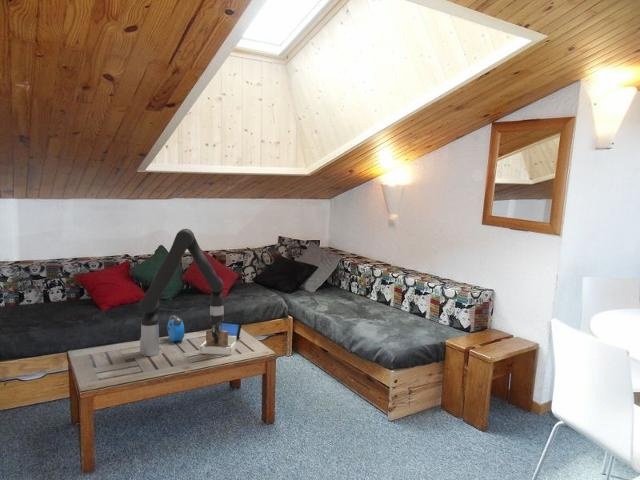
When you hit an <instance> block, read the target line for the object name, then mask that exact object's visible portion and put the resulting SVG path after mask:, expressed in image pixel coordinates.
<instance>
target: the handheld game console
mask: <svg viewBox="0 0 640 480" xmlns="http://www.w3.org/2000/svg"><path fill="white" fill-rule="evenodd" d="M221 323H222V329H221V331H228V336H236V342H238V341H239V340H240V336H241V330H242V327H243V326H242V323H240V322H239V323H238V322H228V321H223V322H221ZM219 330H220V329H219Z"/></svg>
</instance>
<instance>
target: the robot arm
mask: <svg viewBox="0 0 640 480" xmlns="http://www.w3.org/2000/svg"><path fill="white" fill-rule="evenodd" d="M186 251H188V252H189V254H190V255H191V258H192V259H193V261H194V263H195V265H196V267H197V269H198V271H199V272H200V274H201V275H202V277H204V279H205V281H206V284H207V285H208V287H209V288H210V293H211V294H210V301H209V302H210V308H209V320H210V323H213V324H212V328H211V330H212V336H213V337H214V344H218V333H219V331H221V329H222V323H221V322H225V321H224V319H225V318H224V317H225V316H224V315H225V314H224V312H225V311H224V296H223V294H224V293H223V292H224V281H223V279H221V277H219V276H218V275H217V273H216V271H215V268H214V267H213V265H212V264H211V262H210V261H209V259H208V258H207V257H206V255H205V254H204V252H203V251H202V249H201V247H200V245H199V244H198V241H197V238H196V237H195V233H194V232H193V231H192V230H191V229H188V228H182V229H181V230H179V231H178V232H177V233H176V234H175V237H174V240H173V242H172V245H171V247H170V249H169V251H168V253H167V254H166V256H165V257H164V258H163V260H162V262H161V263H160V265H159V266H158V268H157V270H156V273H155V275H154V276H153V279H152V281H151V283H150V285H149V287H148V289H147V291H146V292H145V294H144V295H143V296H142V298H141V299H140V301H139V305H138V306H139V311H140V312H141V313H142V315H141V319H140V327H141V337H139V351H140V354H139V355H141V356H144V357H150V356H151V357H153V356H156V355H159V354H160V330H159V329H160V327H159V326H160V325H159V323H160V322H159V320H160V314H161V313H160V311H161V310H160V308H161V305H160V298H161V295H162V294H163V292H164V291H165V290H166V288H167V287H168V285H170V283H171V282H172V280H173V278H174V277H175V275H176V273H177V271H178V268H179V266H180V263H181V260H182V258H183V256H184V254H185V252H186ZM219 329H220V330H219ZM217 331H218V332H217Z"/></svg>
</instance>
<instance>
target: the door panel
mask: <svg viewBox="0 0 640 480" xmlns="http://www.w3.org/2000/svg"><path fill="white" fill-rule="evenodd" d="M217 332H218V331H217ZM205 340H206V344H209V346H215V347H222V345H227V347H228V331H219V333H218V344H214V337H213V336H212V329H207V330H205Z"/></svg>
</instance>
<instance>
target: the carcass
mask: <svg viewBox="0 0 640 480" xmlns="http://www.w3.org/2000/svg"><path fill="white" fill-rule="evenodd" d="M236 349H237V341H236V336H228V347H227V345H222V347H215V346H209V344H206V339H205V340H204V342H203V343H202V344H201V345H200V346H199V354H205V355H206V354H209V355H212V354H213V355H228V356H229V355H232V354H233V353H234V352H235V351H236Z"/></svg>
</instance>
